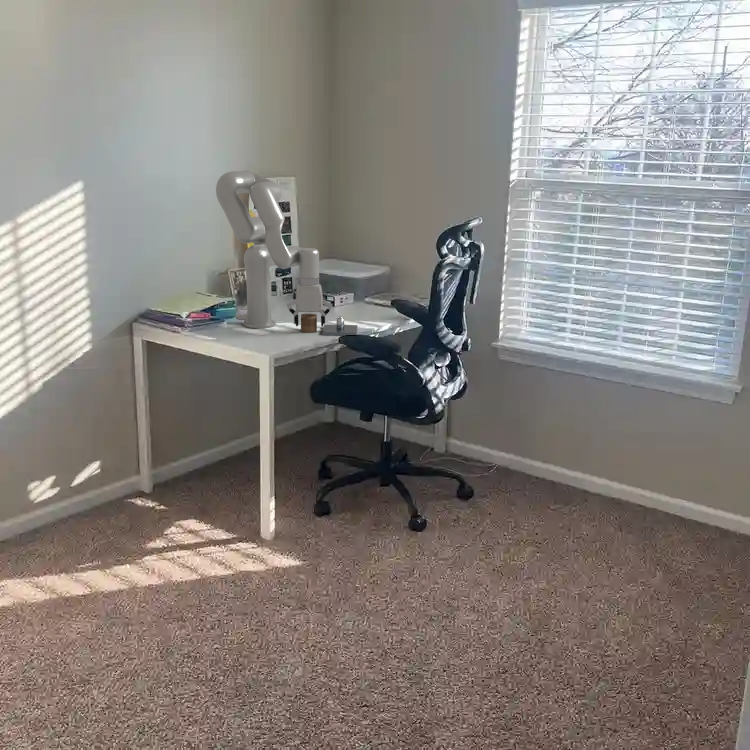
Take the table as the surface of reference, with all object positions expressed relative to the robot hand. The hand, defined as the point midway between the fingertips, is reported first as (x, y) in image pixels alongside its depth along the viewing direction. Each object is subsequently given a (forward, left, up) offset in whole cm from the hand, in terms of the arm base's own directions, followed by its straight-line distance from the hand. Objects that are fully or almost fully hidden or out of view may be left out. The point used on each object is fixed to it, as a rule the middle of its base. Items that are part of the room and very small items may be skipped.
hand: (309, 325), depth 316 cm
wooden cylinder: (0, 0, -2) cm, 2 cm away
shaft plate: (+12, 0, -2) cm, 12 cm away
